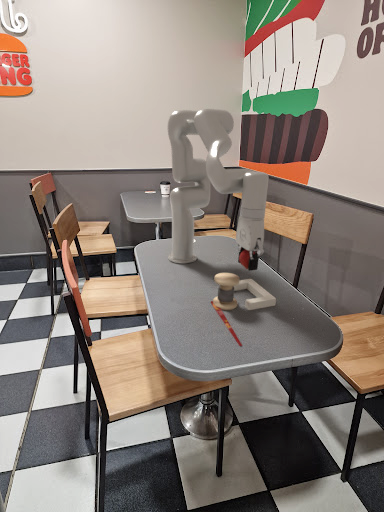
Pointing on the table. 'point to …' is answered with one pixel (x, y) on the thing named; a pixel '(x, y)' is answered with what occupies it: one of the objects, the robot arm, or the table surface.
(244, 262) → the onion
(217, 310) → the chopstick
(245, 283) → the notch board
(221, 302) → the spool
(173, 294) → the table surface
